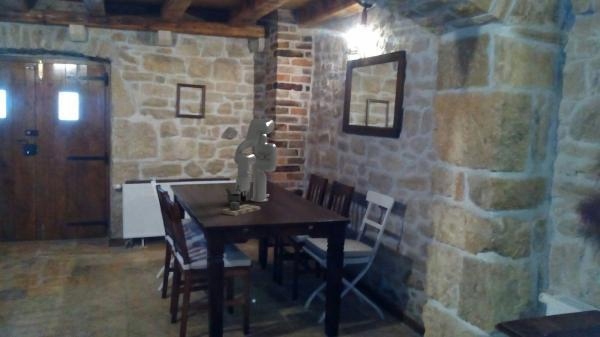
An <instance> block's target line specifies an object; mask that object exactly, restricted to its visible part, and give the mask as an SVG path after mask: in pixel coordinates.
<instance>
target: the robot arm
mask: <svg viewBox="0 0 600 337" xmlns="http://www.w3.org/2000/svg"><path fill="white" fill-rule="evenodd" d="M274 130H275V121H274V120H272V119H268V118H267V119H266V118H265V119H263V118H262V119H261V118H254V119H251V120H250V123H249V125H248V129H247V132H246V136H245V139H244V140H243V141H242V142H241V143H239V144H238V145H237V147H236V149H235V153H234V159H233V160H234V162H235V164H236V165H237V175H236V179H235V191H236V192H237V193H236V194H240V195H241V200H240V202H244V203H245V202H246V201H247V194H248V193H249V192H250V189H251V179H250V166H252V169H253V170H252V171H253V174H252V175H253V179H252V180H253V186H252V187H253V188H252V198H251V199H250V201H252V202H257V203H259V202H260V203H261V202H262V203H265V202H268V201H269V198H268V197H270V194H269V193H267V175H266V173H265V172H275V171H276V169H277V159H278V156H277V155H278V149H277V148H278V147H277V146H276V144H275V143H271V142H270V143H268V136H267V135H269V134H271V133H272V132H273V131H274ZM253 147H254V154H253V153H247V152H246V153H244V152H243V151H245V150H246V149H249V148H253ZM256 155H257V157H256ZM258 156H260V157H258ZM268 157H269V158H268Z"/></svg>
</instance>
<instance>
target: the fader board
mask: <svg viewBox="0 0 600 337" xmlns="http://www.w3.org/2000/svg"><path fill="white" fill-rule="evenodd" d="M259 210H261V205H260V206H259V205H255V204H248V203H245V204H242V205H241V204H240V209H239V210H231V209H230V207H229V208H228V207H227V208H223V209H220V214H225V215H230V216H239V215H243V214H246V213H250V212H252V213H253V212H256V211H259Z"/></svg>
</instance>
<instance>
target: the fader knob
mask: <svg viewBox="0 0 600 337" xmlns="http://www.w3.org/2000/svg"><path fill="white" fill-rule="evenodd" d="M240 206H241V203H240V201H239V202H229V208H230V209H231V210H239V209H240Z"/></svg>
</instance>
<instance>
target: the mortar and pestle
mask: <svg viewBox="0 0 600 337" xmlns="http://www.w3.org/2000/svg"><path fill="white" fill-rule="evenodd" d="M225 191H226V193H227V200H228V202H229V203H230V202H239V203H240V202H241V195H240V194H238V193H233V192H231V190H230V188H229V187H227V188H226V189H225Z"/></svg>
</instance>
